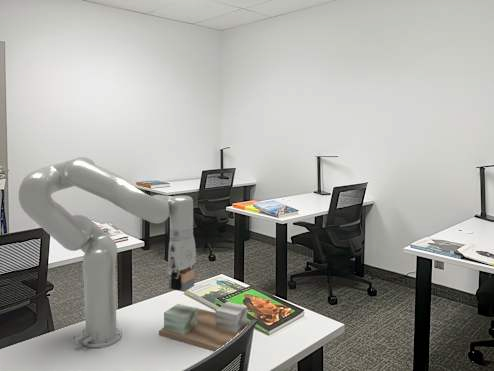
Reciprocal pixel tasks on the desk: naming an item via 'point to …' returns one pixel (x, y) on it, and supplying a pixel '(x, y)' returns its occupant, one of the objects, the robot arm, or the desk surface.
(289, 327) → the desk surface
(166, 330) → the stand board
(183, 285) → the housing
